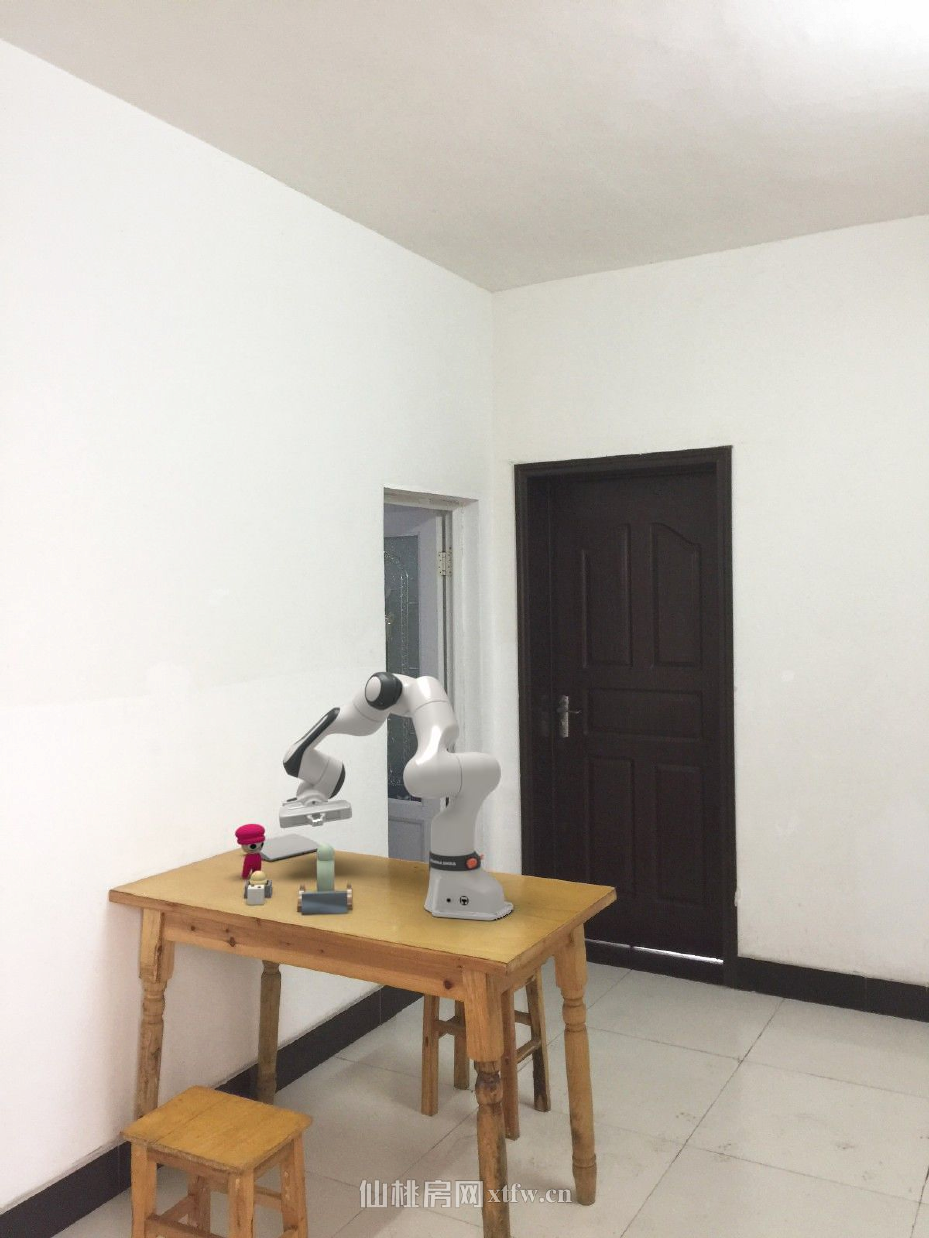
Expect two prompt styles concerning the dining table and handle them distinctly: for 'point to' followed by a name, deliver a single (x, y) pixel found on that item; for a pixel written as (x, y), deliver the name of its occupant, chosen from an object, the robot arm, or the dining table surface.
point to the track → (324, 901)
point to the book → (287, 847)
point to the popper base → (267, 889)
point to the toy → (251, 846)
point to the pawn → (325, 868)
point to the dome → (258, 878)
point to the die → (256, 894)
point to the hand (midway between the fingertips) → (317, 823)
